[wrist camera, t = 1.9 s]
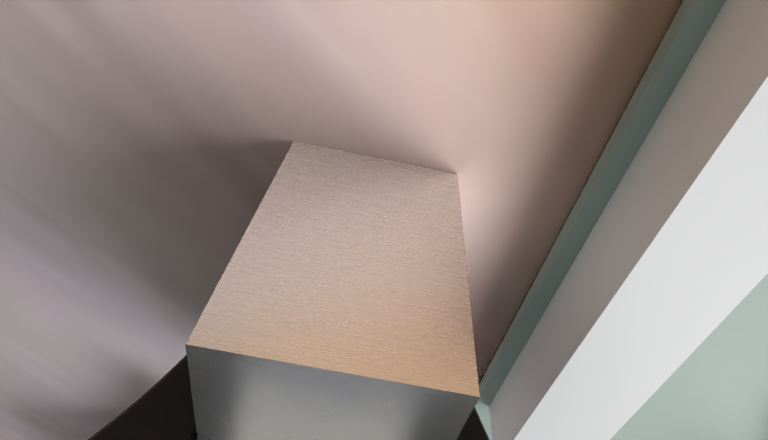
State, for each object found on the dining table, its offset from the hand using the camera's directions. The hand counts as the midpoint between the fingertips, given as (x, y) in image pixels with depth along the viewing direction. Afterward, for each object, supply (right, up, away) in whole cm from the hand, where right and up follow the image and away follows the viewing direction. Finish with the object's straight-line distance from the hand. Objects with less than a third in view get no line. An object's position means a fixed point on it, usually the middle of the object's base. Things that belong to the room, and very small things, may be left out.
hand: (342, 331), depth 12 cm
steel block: (0, +1, +1) cm, 2 cm away
